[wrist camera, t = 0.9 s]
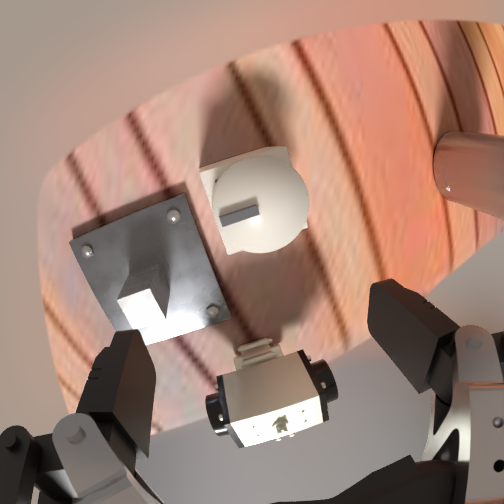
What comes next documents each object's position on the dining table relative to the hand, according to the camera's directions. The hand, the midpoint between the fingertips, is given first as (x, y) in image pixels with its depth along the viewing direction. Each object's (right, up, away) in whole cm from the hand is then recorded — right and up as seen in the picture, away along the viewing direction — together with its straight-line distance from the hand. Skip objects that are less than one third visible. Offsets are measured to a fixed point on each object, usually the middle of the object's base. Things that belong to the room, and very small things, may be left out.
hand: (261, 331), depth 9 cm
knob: (-1, +8, +16) cm, 18 cm away
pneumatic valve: (0, -9, +23) cm, 25 cm away
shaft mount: (-10, 0, +17) cm, 20 cm away
